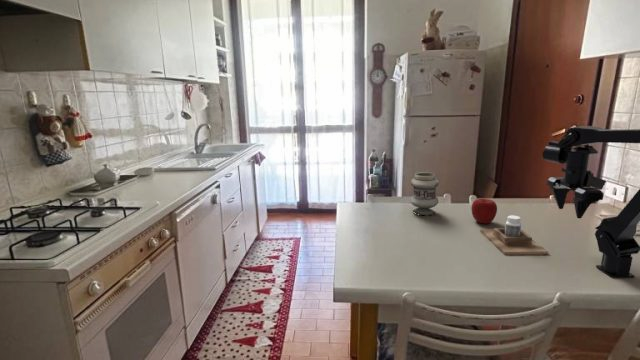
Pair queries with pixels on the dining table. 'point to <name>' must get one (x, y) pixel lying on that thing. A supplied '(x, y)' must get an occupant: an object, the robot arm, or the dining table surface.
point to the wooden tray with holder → (513, 242)
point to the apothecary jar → (424, 193)
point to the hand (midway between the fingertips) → (569, 213)
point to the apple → (484, 210)
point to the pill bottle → (513, 226)
